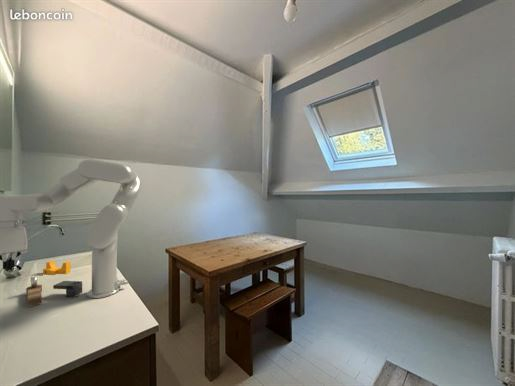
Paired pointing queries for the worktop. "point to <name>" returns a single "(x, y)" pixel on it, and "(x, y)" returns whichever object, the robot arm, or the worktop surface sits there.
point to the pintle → (33, 281)
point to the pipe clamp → (56, 268)
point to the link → (34, 295)
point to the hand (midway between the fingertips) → (8, 269)
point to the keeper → (70, 287)
